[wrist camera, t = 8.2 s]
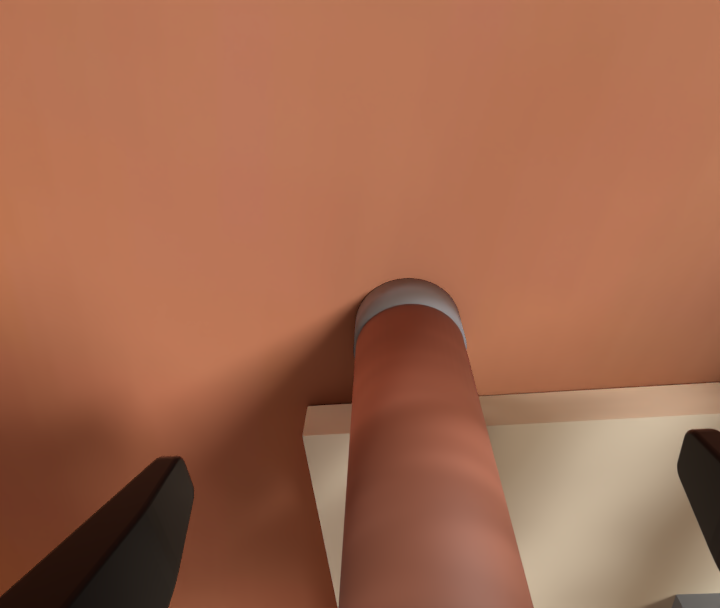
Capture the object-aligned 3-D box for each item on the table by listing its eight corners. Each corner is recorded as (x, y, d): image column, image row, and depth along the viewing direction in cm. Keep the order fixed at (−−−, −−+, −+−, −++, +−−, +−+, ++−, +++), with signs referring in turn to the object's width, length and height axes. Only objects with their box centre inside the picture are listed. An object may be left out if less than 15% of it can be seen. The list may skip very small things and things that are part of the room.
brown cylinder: (459, 274, 13) (558, 590, 6) (460, 363, 14) (541, 710, 7) (349, 282, 13) (317, 599, 6) (360, 369, 14) (344, 712, 7)
